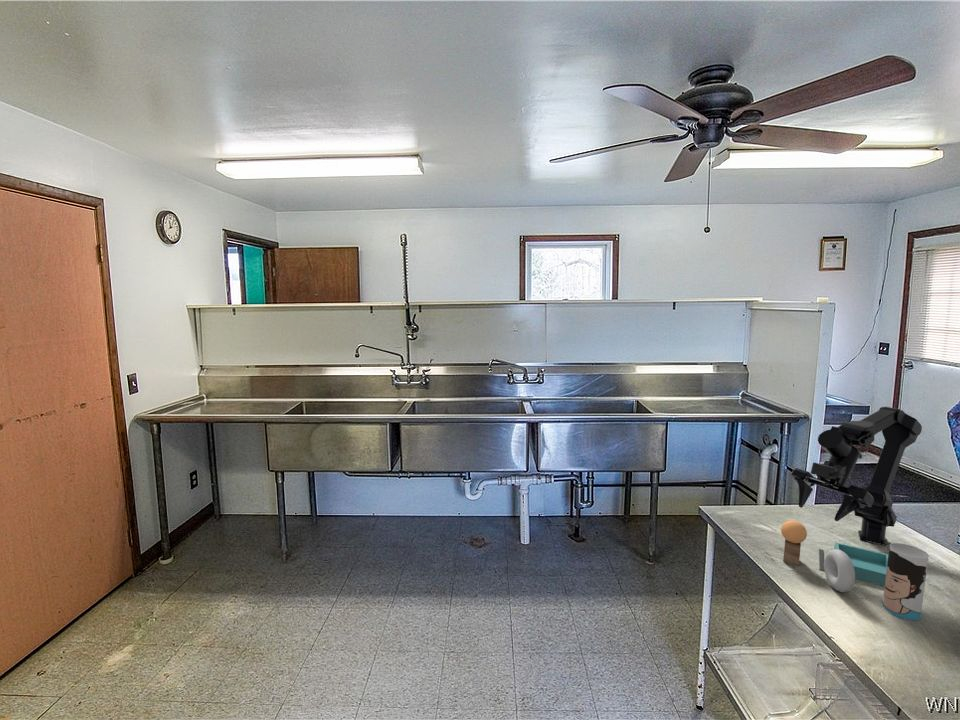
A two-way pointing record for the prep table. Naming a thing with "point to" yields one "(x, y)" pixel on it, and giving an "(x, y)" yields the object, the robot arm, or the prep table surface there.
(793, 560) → the tee
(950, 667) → the prep table surface
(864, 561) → the tray
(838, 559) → the donut
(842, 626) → the prep table surface
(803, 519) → the prep table surface
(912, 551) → the cup
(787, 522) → the ball
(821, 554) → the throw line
